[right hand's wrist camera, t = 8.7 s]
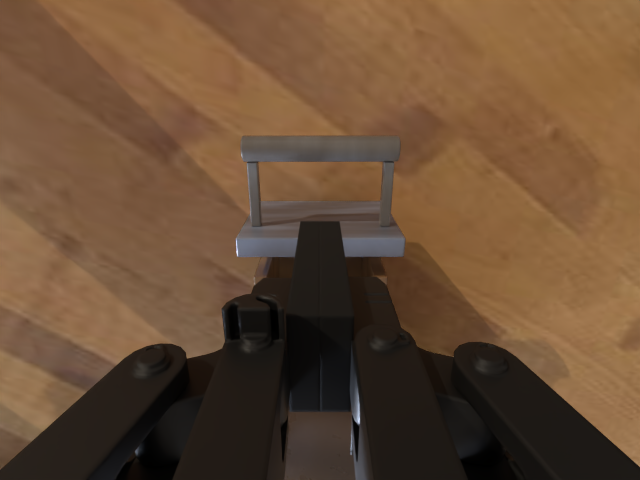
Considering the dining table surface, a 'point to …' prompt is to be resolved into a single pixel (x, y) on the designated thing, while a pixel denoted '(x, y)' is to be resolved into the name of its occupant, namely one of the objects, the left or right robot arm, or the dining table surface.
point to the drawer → (320, 205)
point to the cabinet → (319, 446)
